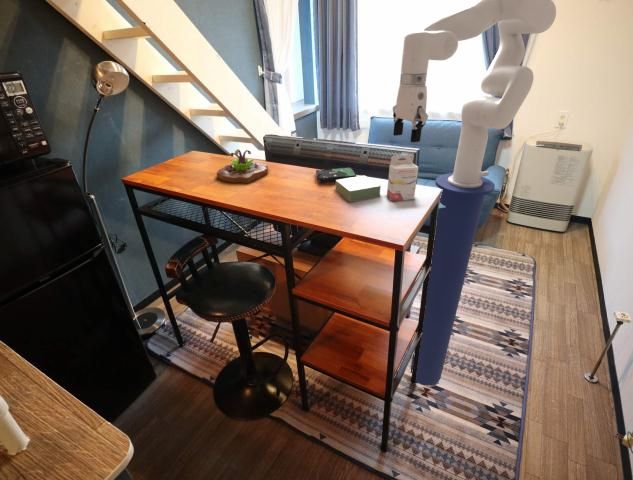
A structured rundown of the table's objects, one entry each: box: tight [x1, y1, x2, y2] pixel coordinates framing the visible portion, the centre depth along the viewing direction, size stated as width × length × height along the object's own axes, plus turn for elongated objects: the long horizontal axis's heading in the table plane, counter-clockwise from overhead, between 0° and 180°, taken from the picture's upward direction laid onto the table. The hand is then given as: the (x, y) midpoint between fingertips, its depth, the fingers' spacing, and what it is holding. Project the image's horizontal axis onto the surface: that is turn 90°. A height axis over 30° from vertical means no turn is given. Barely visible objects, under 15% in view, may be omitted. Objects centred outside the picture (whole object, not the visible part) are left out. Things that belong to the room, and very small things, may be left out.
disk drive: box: [315, 167, 357, 185], centre depth 139 cm, size 10×3×15 cm
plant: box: [216, 149, 269, 184], centre depth 143 cm, size 20×20×11 cm
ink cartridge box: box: [386, 154, 419, 202], centre depth 118 cm, size 9×5×15 cm, turn 100°
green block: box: [335, 175, 382, 203], centre depth 125 cm, size 12×12×4 cm
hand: (406, 138), depth 111 cm, fingers open, 9 cm apart
